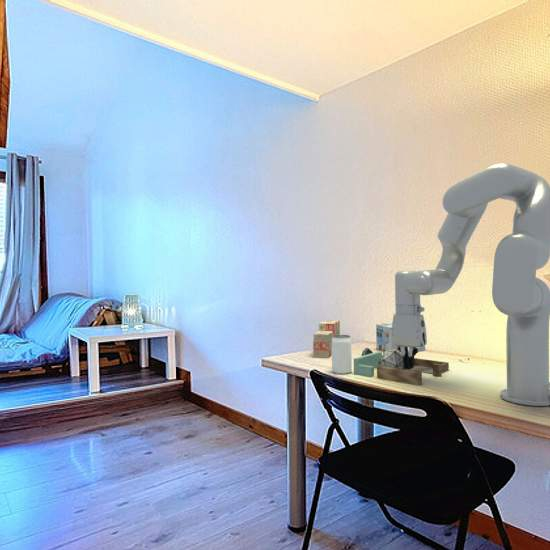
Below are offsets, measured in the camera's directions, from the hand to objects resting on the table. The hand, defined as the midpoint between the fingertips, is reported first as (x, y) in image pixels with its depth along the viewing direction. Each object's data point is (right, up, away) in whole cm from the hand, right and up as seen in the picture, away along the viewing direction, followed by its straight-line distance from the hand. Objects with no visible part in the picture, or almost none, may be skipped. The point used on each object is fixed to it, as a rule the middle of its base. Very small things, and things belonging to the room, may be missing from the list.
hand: (408, 368), depth 140 cm
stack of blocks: (-21, -3, +42) cm, 47 cm away
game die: (-4, -3, +5) cm, 7 cm away
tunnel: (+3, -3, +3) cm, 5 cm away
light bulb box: (+5, -2, +43) cm, 44 cm away
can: (-20, -3, +8) cm, 22 cm away
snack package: (-7, -3, +22) cm, 23 cm away
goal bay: (-9, -3, +8) cm, 12 cm away
